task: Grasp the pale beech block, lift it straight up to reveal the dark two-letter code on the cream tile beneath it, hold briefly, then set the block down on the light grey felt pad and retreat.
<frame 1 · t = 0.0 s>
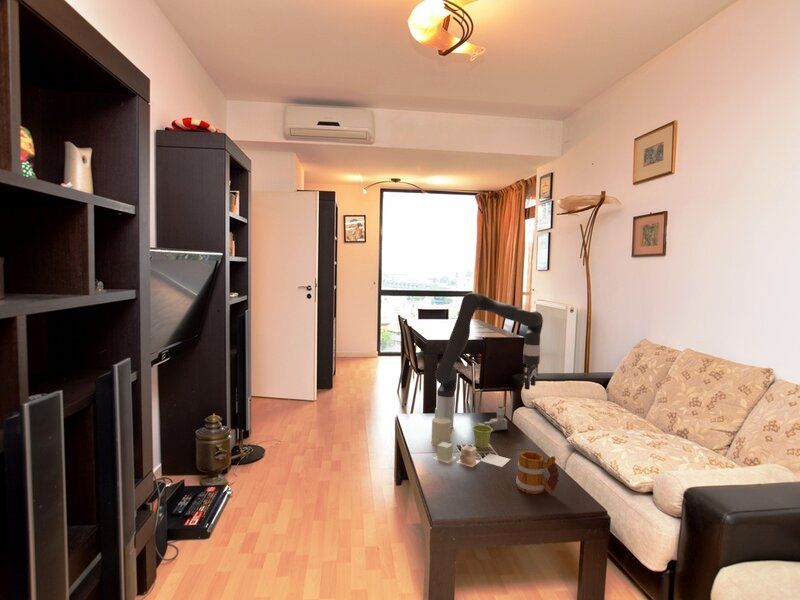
hand: (529, 387, 212), 29 cm above the table, fingers open, 8 cm apart
code tile B: (444, 458, 199), on the table
sage block: (444, 457, 198), resting on code tile B
felt pad: (495, 460, 198), on the table
camera: (492, 429, 238), on the table
beech block: (468, 461, 195), resting on code tile A
code tile A: (468, 462, 195), on the table
can: (440, 443, 216), on the table
plant pot: (481, 446, 214), on the table
mug: (536, 490, 172), on the table
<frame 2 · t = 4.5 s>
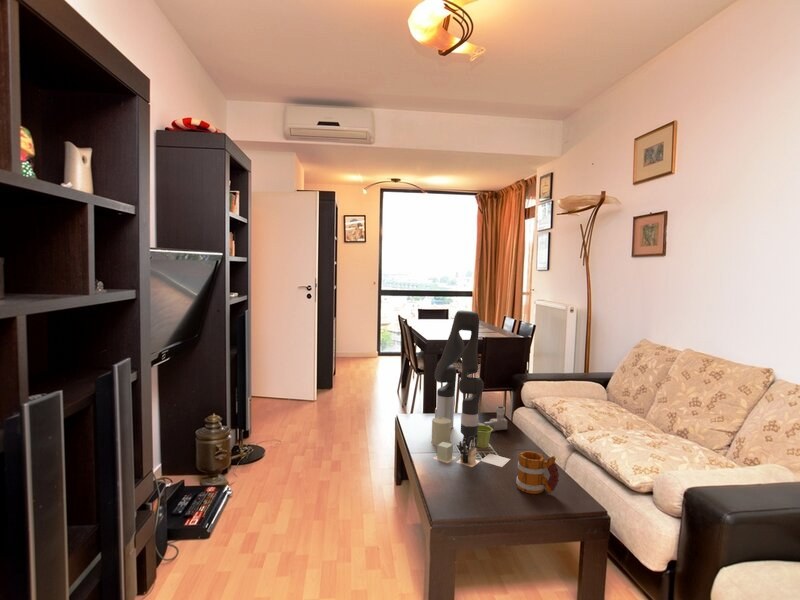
hand: (468, 460, 195), 1 cm above the table, fingers closed on beech block, 5 cm apart
beech block: (468, 461, 195), resting on code tile A, touching gripper
everything else where it was.
when the fingers open (2 cm above the table, at t = 12.1 s): beech block drops 1 cm, resting on felt pad.
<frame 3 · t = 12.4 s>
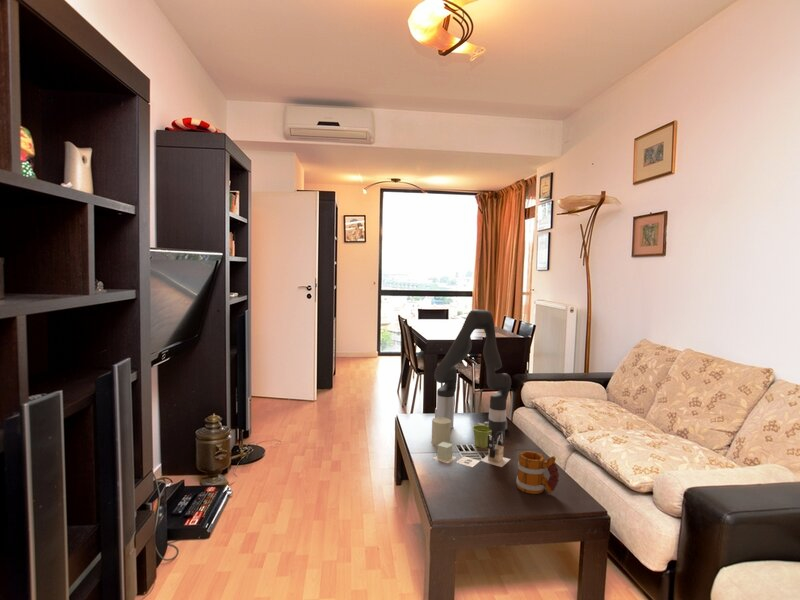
hand: (495, 454, 197), 3 cm above the table, fingers open, 7 cm apart
beech block: (495, 459, 198), resting on felt pad
everything else where it was.
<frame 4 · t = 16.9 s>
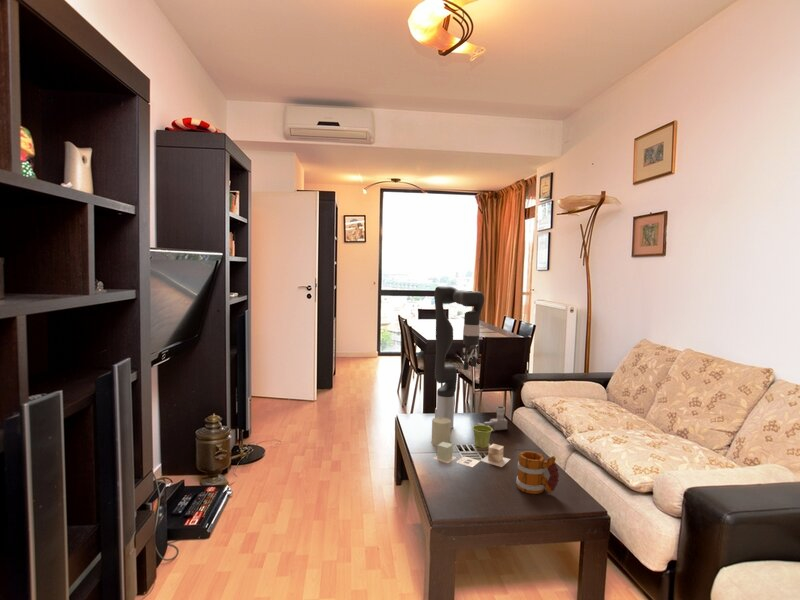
hand: (469, 368, 210), 38 cm above the table, fingers open, 8 cm apart
nothing on the table moved.
at the end: beech block inside the target area on the felt pad (0.1 cm from its centre), point 0.4 cm above the felt pad's base; beech block tilted 0°; beech block touching felt pad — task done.
